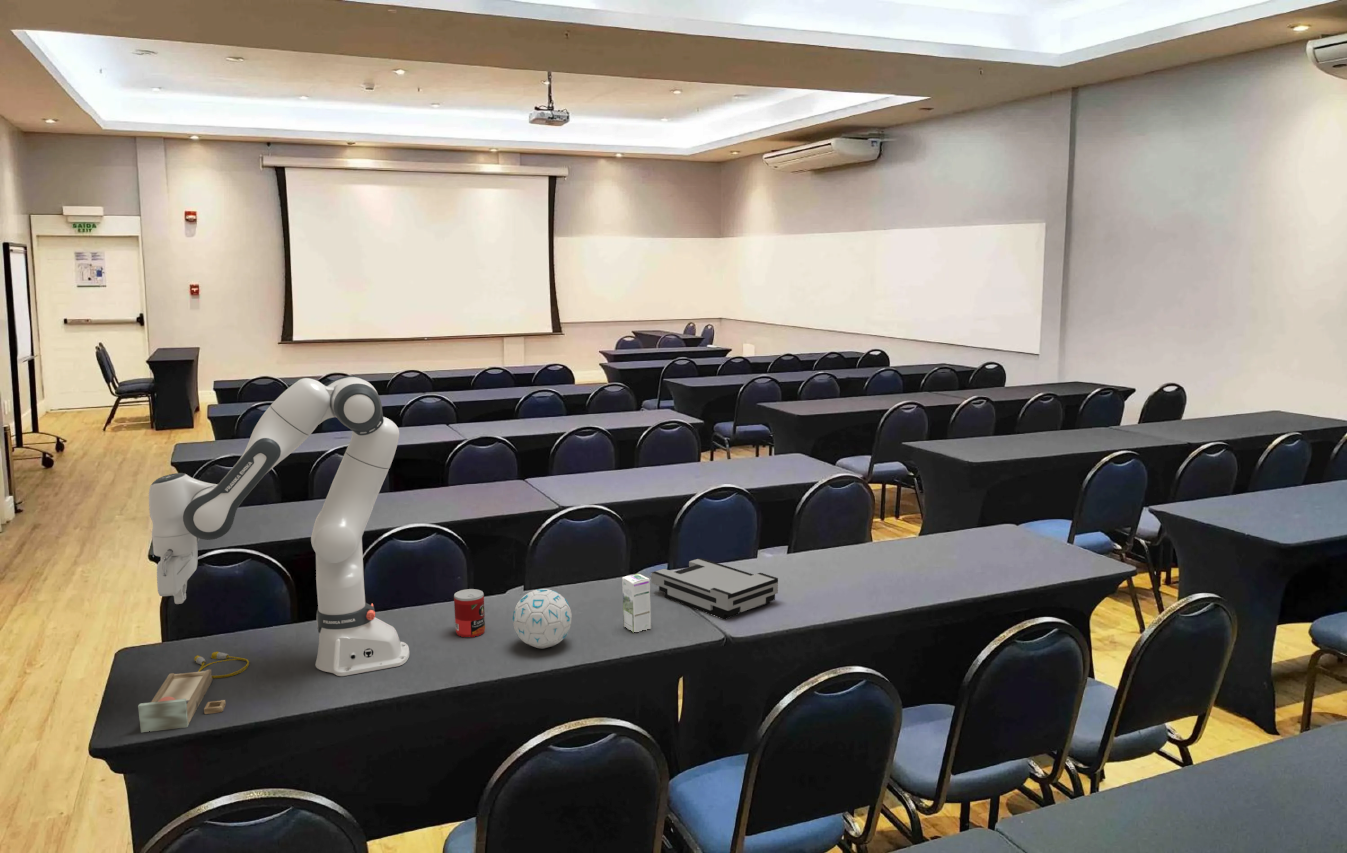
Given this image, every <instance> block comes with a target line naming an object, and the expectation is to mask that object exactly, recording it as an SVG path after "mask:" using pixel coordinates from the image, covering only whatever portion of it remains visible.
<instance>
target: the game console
mask: <svg viewBox="0 0 1347 853" xmlns="http://www.w3.org/2000/svg"><path fill="white" fill-rule="evenodd" d="M650 575H651V576H650V577H651V580H650V584H653V585H656V586H658V589H659V590H658V591H660V592H663V593H664V598H666V599H668V600H671V601H674V602H676V603H679V604H681V605H684V606H687V607H690V608H692V609H695V610H697V609H698V611H701V612H703V613H705V612H707V613H706V614H708V613H709V615H711V614H712V615H711V616H713V615H715V616H714V617H716V616H717V617H716V618H719V617H720V618H719V619H721V618H722V620H726V618H727V619H730V618H732V617H735V616H737V615H740V613H743V612H746V611H747V610H751V609H754V608H755V609H756V608H759V607H762V606H765V605H768V604H770V603H771V602H772V601H775V600H776V595H777V594H778V593H779V578H778V577H776V576H774V575H773V576H772V575H770V574H766V573H764V572H759V573H756V574H753V573H750V572H747V571H743V570H741V569H738V568H734V567H731V566H728V565H725V564H723V563H722V564H721V563H718V562H715V561H712V560H709V559H706V558H703V557H700V558H697V559H693V560H690V561H688V567H685V568H682V569H678V570H675V571H672V570H669V569H666V568H663V569H658V570H655V571H652V572H650ZM729 617H730V618H729Z"/></svg>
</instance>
